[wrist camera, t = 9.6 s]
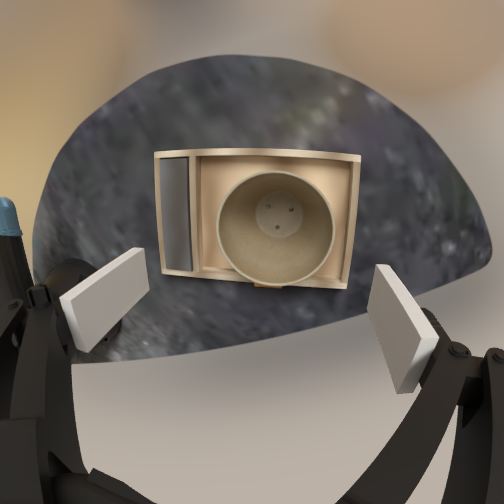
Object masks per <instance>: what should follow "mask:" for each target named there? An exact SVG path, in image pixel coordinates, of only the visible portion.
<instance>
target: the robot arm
mask: <svg viewBox="0 0 504 504" xmlns="http://www.w3.org/2000/svg"><path fill="white" fill-rule="evenodd" d="M21 235H23V234H22V231H21V230H20V226H19V222H18V217H17V213H16V208H15V205H14V203H13V202H12V201H11V200H10V199H9V198H7V197H0V504H156V503H154V502H152V501H150V500H149V499H147V498H146V497H144V496H143V495H141V494H140V493H138V492H137V491H135V490H134V489H132V488H131V487H129V486H128V485H127V484H125V483H124V482H122V481H120V480H117V479H115V478H113V477H111V476H109V475H107V474H104V473H103V472H101V471H98V470H96V469H95V468H93V469H92V470H91V472H90V474H88V472H87V470H86V469H85V467H84V464H83V461H82V457H81V452H80V447H79V441H78V435H77V428H76V421H75V413H74V403H73V392H72V375H71V365H72V364H73V363H74V361H75V360H76V359H77V358H78V357H79V356H80V355H81V354H82V353H85V352H86V353H88V352H89V351H90V350H92V349H94V348H96V347H99V346H101V345H103V344H105V343H107V342H108V341H110V340H111V339H112V338H113V336H114V335H115V334H116V333H117V332H118V330H119V328H120V324H121V318H122V317H123V316H124V315H125V314H126V313H127V312H128V311H129V310H130V309H131V308H132V307H133V306H134V305H135V304H136V303H137V302H138V301H139V300H140V299H141V298H142V297H143V296H144V295H145V294H146V293H147V292H148V291H149V284H148V277H147V270H146V262H145V254H144V248H132V249H130V250H129V251H127V252H126V253H124V254H122V255H121V256H119V257H118V258H116V259H115V260H113V261H112V262H110V263H109V264H107V265H106V266H104V267H103V268H101V269H100V270H98V271H97V270H96V269H95V268H94V267H93V266H91V265H90V264H89V263H87V262H85V261H83V260H80V259H75V258H72V259H67V260H65V261H64V262H62V263H60V264H58V265H57V266H56V267H55V268H54V269H53V270H52V271H51V273H50V274H49V275H48V277H47V278H46V279H45V281H44V282H43V284H37V285H34V283H33V280H32V277H31V273H30V270H29V266H28V262H27V258H26V254H25V250H24V246H23V242H22V238H21ZM367 311H368V313H369V316H370V318H371V321H372V323H373V326H374V329H375V331H376V334H377V337H378V339H379V342H380V345H381V348H382V350H383V354H384V356H385V359H386V362H387V365H388V368H389V371H390V374H391V377H392V380H393V384H394V387H395V390H396V393H397V394H403V393H413V392H414V390H415V388H416V386H417V384H418V382H419V383H420V386H421V388H422V389H421V391H420V393H419V395H418V396H417V398H416V400H415V401H414V403H413V405H412V406H411V408H410V410H409V411H408V413H407V415H406V416H405V418H404V419H403V421H402V422H401V424H400V425H399V427H398V429H397V430H396V431H395V433H394V434H393V436H392V437H391V438H390V440H389V441H388V443H387V444H386V446H385V447H384V448H383V449H382V451H381V452H380V453H379V455H378V456H377V457H376V459H375V460H374V461H373V462H372V464H371V465H370V466H369V467H368V468H367V470H366V471H365V472H364V473H363V474H362V476H361V477H360V478H359V479H358V480H357V481H356V482H355V483H354V485H353V486H352V487H351V488H350V489H349V490H348V491H347V492H346V493H345V494H344V495H343V496H342V497H341V498H340V499H339V500H338V501H337V502H336V503H335V504H405V503H406V501H407V500H408V498H409V497H410V495H411V494H412V492H413V491H414V489H415V488H416V486H417V484H418V483H419V481H420V479H421V478H422V476H423V475H424V473H425V471H426V469H427V468H428V466H429V464H430V462H431V460H432V458H433V456H434V454H435V452H436V450H437V448H438V446H439V444H440V442H441V440H442V438H443V436H444V434H445V431H446V429H447V427H448V424H449V422H450V420H451V417H452V415H453V412H454V410H455V407H456V405H458V417H457V427H456V435H455V442H454V449H453V455H452V460H451V466H450V470H449V475H448V479H447V483H446V488H445V491H444V495H443V498H442V502H441V504H504V351H503V350H502V349H499V348H490V349H489V350H488V351H487V352H486V354H485V356H484V358H482V357H475V356H471V352H470V350H469V349H468V348H467V347H466V346H465V345H463V344H461V343H458V342H454V341H451V340H450V338H449V337H448V335H447V334H446V332H445V331H444V329H443V328H442V327H441V325H440V323H439V322H438V321H437V319H436V318H435V316H434V315H433V313H431V312H430V311H429V310H427V309H426V308H420V307H419V306H418V304H417V303H416V302H415V300H414V299H413V297H412V296H411V294H410V293H409V292H408V290H407V289H406V287H405V286H404V285H403V283H402V282H401V281H400V279H399V278H398V277H397V275H396V274H395V273H394V271H393V270H392V269H391V267H390V266H389V265H381V264H376V267H375V273H374V278H373V283H372V288H371V292H370V297H369V301H368V306H367Z"/></svg>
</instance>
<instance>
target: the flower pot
mask: <svg viewBox="0 0 504 504" xmlns="http://www.w3.org/2000/svg"><path fill="white" fill-rule="evenodd" d="M267 207H269V209H268V208H267ZM290 208H292V209H290ZM278 226H279V227H280V228H278ZM216 236H217V241H218V244H219V247H220V250H221V252H222V254H223V256H224V257H225V259H226V260H227V262H228V263H229V264H230V265H231V267H232V268H233V269H234V270H236V271H237V272H238V273H239V274H241V275H242V276H244V277H245V278H247V279H249V280H251V281H253V282H256V283H259V284H262V285H268V286H287V285H292V284H295V283H298V282H300V281H303V280H305V279H307V278H308V277H310V276H312V275H313V274H314V273H315V272H316V271H318V270H319V269H320V268H321V266H322V265H323V264H324V263H325V261H326V260H327V258H328V256H329V255H330V252H331V250H332V247H333V244H334V239H335V220H334V215H333V212H332V209H331V207H330V204H329V202H328V201H327V199H326V198H325V196H324V195H323V194H322V192H321V191H320V190H319V189H318V188H317V187H316V186H315V185H314V184H312V183H311V182H310V181H308V180H307V179H305V178H303V177H301V176H299V175H296V174H293V173H290V172H286V171H277V170H270V171H262V172H258V173H255V174H252V175H250V176H248V177H246V178H244V179H242V180H241V181H239V182H238V183H237V184H235V185H234V186H233V187H232V188H231V189H230V190H229V192H228V193H227V194H226V195H225V197H224V198H223V200H222V202H221V204H220V207H219V210H218V213H217V217H216Z"/></svg>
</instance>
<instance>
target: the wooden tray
mask: <svg viewBox="0 0 504 504" xmlns="http://www.w3.org/2000/svg"><path fill="white" fill-rule="evenodd" d="M154 163H155V194H156V212H157V226H158V239H159V250H160V260H161V269H162V274H170V275H179V276H188V277H198V278H208V279H219V280H230V281H241V282H253V281H251V280H249V279H247V278H245V277H244V276H242V275H241V274H239V273H238V272H237V271H236V270H234V269H233V268H232V267H231V265H230V264H229V263H228V262H227V260H226V259H225V257H224V256H223V254H222V252H221V250H220V247H219V244H218V241H217V236H216V217H217V213H218V210H219V207H220V204H221V202H222V200H223V198H224V197H225V195H226V194H227V193H228V192H229V190H230V189H231V188H232V187H233V186H234V185H235V184H237V183H238V182H239V181H241V180H242V179H244V178H246V177H248V176H250V175H252V174H255V173H258V172H262V171H270V170H277V171H286V172H290V173H293V174H296V175H299V176H301V177H303V178H305V179H307V180H308V181H310V182H311V183H312V184H314V185H315V186H316V187H317V188H318V189H319V190H320V191H321V192H322V194H323V195H324V196H325V198H326V199H327V201H328V202H329V204H330V207H331V209H332V212H333V215H334V220H335V239H334V244H333V247H332V250H331V252H330V255H329V256H328V258H327V260H326V261H325V263H324V264H323V265H322V266H321V268H320V269H319V270H318V271H316V272H315V273H314V274H313V275H312V276H310V277H308V278H307V279H305V280H303V281H300V282H298V283H295V284H292V285H291V286H305V287H320V288H337V289H346V288H347V282H348V276H349V269H350V263H351V256H352V249H353V241H354V233H355V224H356V215H357V205H358V193H359V180H360V163H361V155H353V154H344V153H333V152H322V151H308V150H291V149H262V148H220V149H192V150H174V151H161V152H154ZM267 208H268V209H269V207H267ZM290 209H292V208H290ZM278 228H280V227H279V226H278ZM253 283H254V286H257V287H269V288H282V286H268V285H262V284H259V283H256V282H253Z"/></svg>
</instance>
